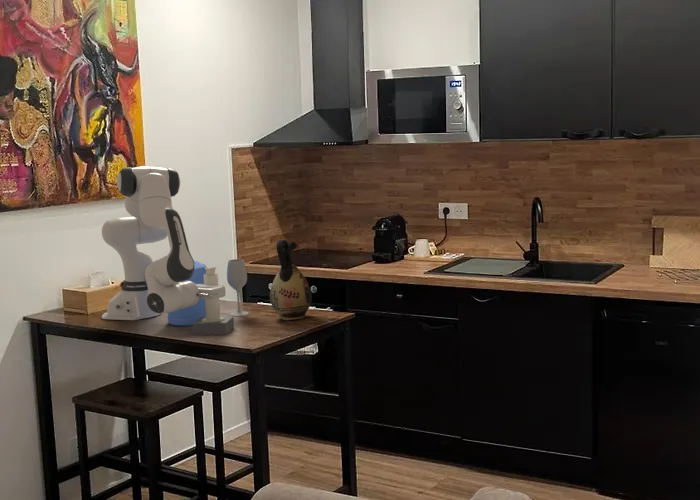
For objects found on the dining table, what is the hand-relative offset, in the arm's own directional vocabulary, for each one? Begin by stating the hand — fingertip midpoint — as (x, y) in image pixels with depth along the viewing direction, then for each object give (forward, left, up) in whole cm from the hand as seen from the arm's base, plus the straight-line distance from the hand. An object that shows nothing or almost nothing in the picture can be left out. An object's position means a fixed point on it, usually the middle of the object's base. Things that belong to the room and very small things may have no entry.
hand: (212, 286), depth 314 cm
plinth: (0, -1, -16) cm, 16 cm away
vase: (0, -1, -11) cm, 12 cm away
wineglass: (+2, +26, -16) cm, 31 cm away
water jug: (-14, +14, -16) cm, 26 cm away
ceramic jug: (+24, +18, -16) cm, 34 cm away
